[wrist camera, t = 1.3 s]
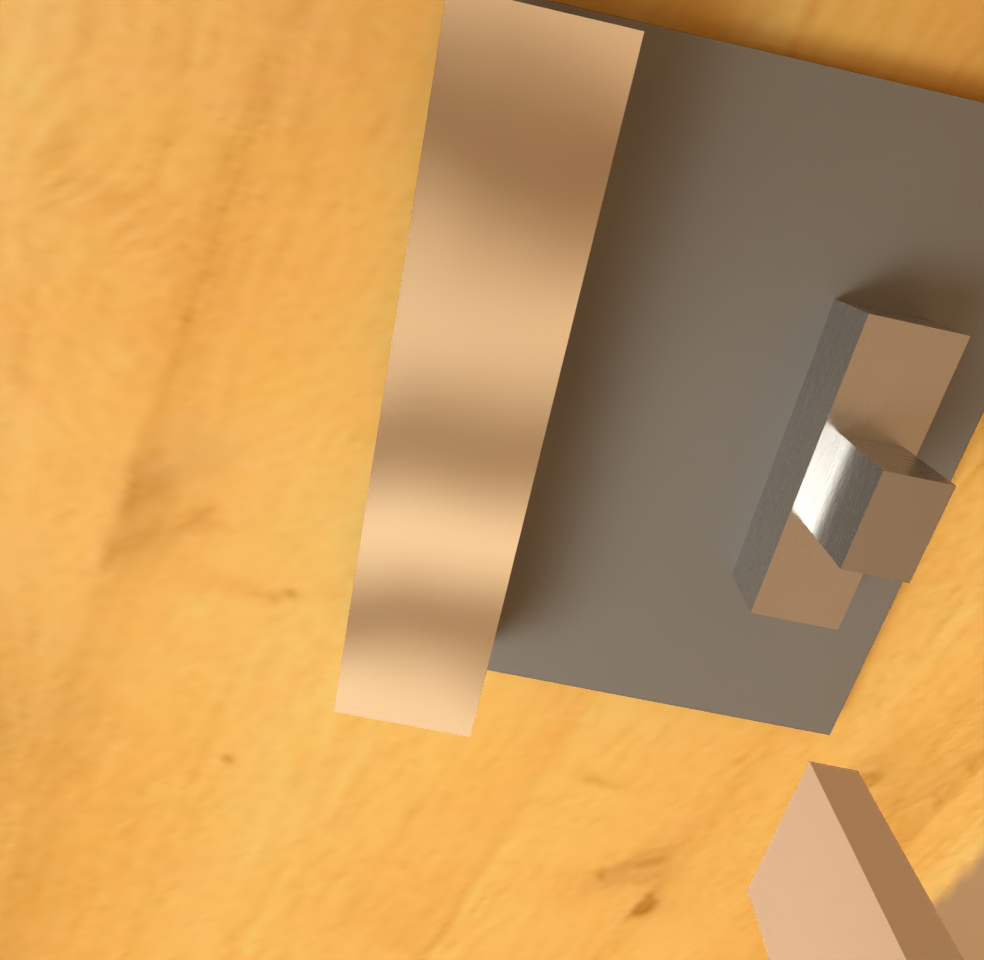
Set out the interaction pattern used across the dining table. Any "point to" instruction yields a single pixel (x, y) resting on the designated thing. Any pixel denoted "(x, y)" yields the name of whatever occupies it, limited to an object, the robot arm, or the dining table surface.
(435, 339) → the beech bar
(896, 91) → the slate board
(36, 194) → the dining table surface
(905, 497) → the fulcrum ridge
